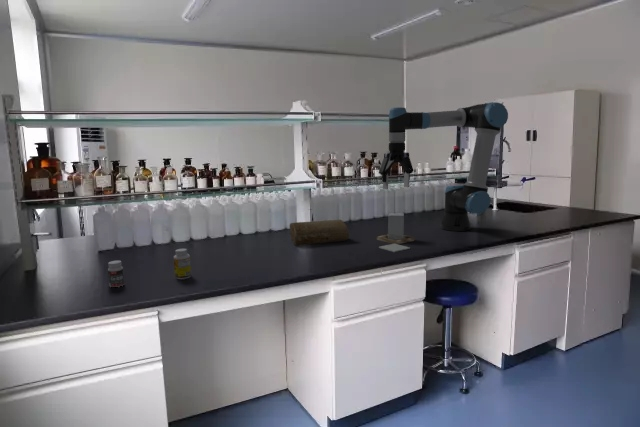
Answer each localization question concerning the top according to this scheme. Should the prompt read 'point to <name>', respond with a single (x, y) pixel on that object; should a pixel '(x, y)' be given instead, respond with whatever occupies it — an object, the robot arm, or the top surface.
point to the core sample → (318, 232)
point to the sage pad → (394, 247)
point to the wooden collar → (406, 239)
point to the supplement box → (396, 226)
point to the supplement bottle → (182, 264)
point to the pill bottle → (115, 274)
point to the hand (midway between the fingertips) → (396, 188)
